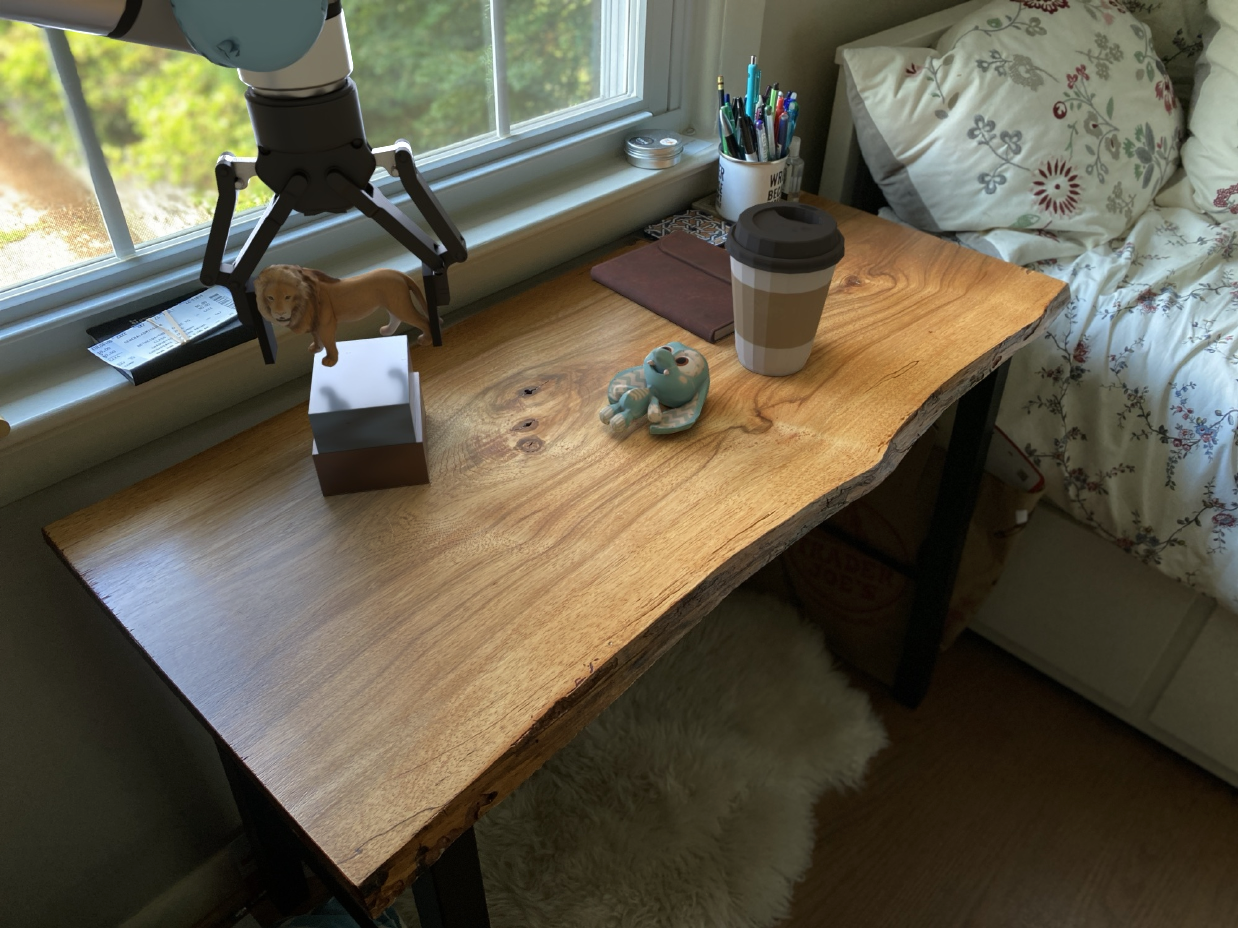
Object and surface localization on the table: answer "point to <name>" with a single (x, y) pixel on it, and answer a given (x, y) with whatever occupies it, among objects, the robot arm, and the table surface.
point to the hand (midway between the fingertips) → (355, 347)
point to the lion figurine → (337, 303)
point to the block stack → (368, 418)
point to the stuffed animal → (659, 390)
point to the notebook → (677, 282)
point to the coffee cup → (780, 282)
